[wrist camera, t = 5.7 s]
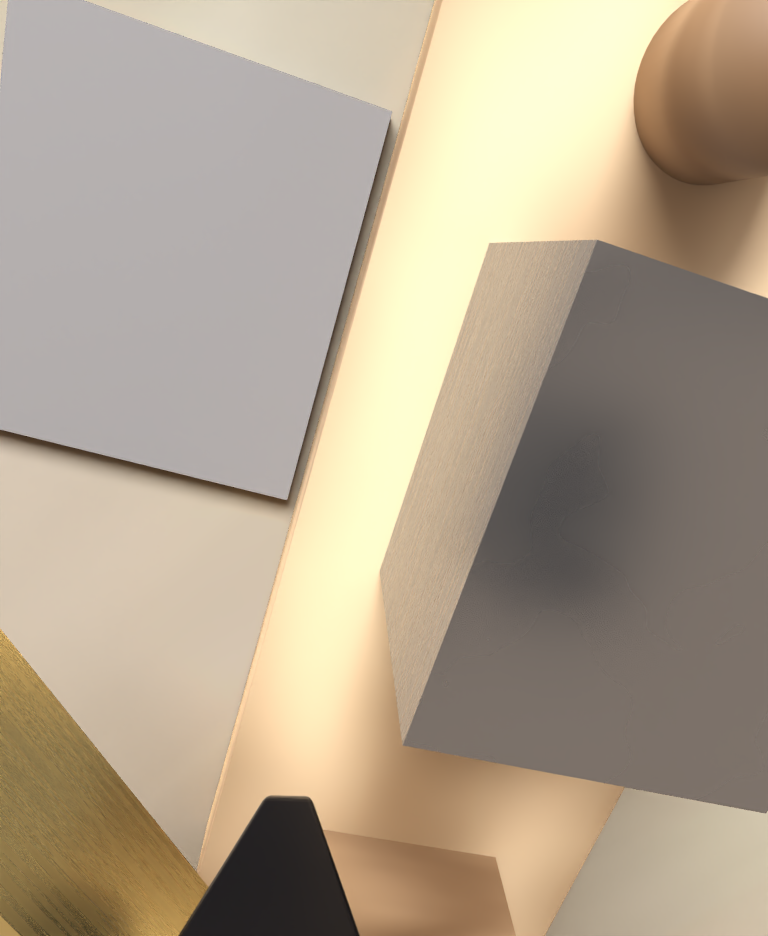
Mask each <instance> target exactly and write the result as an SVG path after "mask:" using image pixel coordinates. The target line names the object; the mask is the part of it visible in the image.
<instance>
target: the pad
mask: <svg viewBox="0 0 768 936" xmlns="http://www.w3.org/2000/svg"><path fill="white" fill-rule="evenodd" d="M391 114H392V111H389V110H387V109H384V108H381V107H378V106H376V105H373V104H370V103H367V102H364V101H362V100H359V99H356V98H353V97H351V96H348V95H345V94H342V93H339V92H337V91H334V90H331V89H328V88H326V87H323V86H320V85H317V84H315V83H312V82H309V81H306V80H303V79H301V78H298V77H295V76H292V75H290V74H287V73H284V72H281V71H278V70H276V69H273V68H270V67H267V66H265V65H262V64H259V63H256V62H253V61H251V60H248V59H245V58H242V57H240V56H237V55H234V54H231V53H228V52H226V51H223V50H220V49H217V48H215V47H212V46H209V45H206V44H203V43H201V42H198V41H195V40H192V39H190V38H187V37H184V36H181V35H178V34H176V33H173V32H170V31H167V30H165V29H162V28H159V27H156V26H153V25H151V24H148V23H145V22H142V21H140V20H137V19H134V18H131V17H128V16H126V15H123V14H120V13H117V12H115V11H112V10H109V9H106V8H104V7H101V6H98V5H95V4H92V3H90V2H87V1H84V0H8V6H7V16H6V27H5V38H4V49H3V59H2V70H1V81H0V430H4V431H8V432H12V433H16V434H20V435H24V436H28V437H32V438H37V439H41V440H45V441H49V442H53V443H57V444H61V445H65V446H69V447H73V448H77V449H81V450H85V451H89V452H93V453H97V454H101V455H106V456H110V457H114V458H118V459H122V460H126V461H130V462H134V463H138V464H142V465H146V466H150V467H154V468H158V469H162V470H166V471H170V472H175V473H179V474H183V475H187V476H191V477H195V478H199V479H203V480H207V481H211V482H215V483H219V484H223V485H227V486H231V487H235V488H239V489H243V490H248V491H252V492H256V493H260V494H264V495H268V496H272V497H276V498H280V499H284V500H287V498H288V495H289V491H290V487H291V484H292V480H293V476H294V473H295V469H296V465H297V462H298V458H299V454H300V450H301V447H302V443H303V439H304V436H305V432H306V428H307V425H308V421H309V417H310V414H311V410H312V406H313V402H314V399H315V395H316V391H317V388H318V384H319V380H320V377H321V373H322V369H323V365H324V362H325V358H326V354H327V351H328V347H329V343H330V340H331V336H332V332H333V329H334V325H335V321H336V317H337V314H338V310H339V306H340V303H341V299H342V295H343V292H344V288H345V284H346V281H347V277H348V273H349V269H350V266H351V262H352V258H353V255H354V251H355V247H356V244H357V240H358V236H359V233H360V229H361V225H362V221H363V218H364V214H365V210H366V207H367V203H368V199H369V196H370V192H371V188H372V184H373V181H374V177H375V173H376V170H377V166H378V162H379V159H380V155H381V151H382V148H383V144H384V140H385V136H386V133H387V129H388V125H389V122H390V118H391Z"/></svg>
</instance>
